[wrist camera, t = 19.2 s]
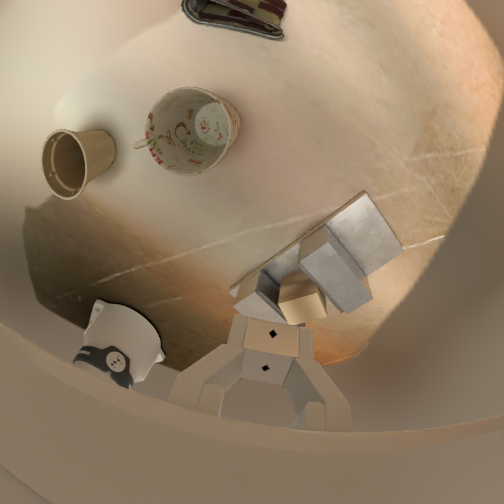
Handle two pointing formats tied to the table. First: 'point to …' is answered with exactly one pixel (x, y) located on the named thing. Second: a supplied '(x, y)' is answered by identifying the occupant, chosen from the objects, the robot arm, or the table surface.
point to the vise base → (286, 262)
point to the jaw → (333, 270)
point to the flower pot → (75, 160)
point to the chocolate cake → (238, 15)
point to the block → (301, 299)
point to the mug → (190, 130)
